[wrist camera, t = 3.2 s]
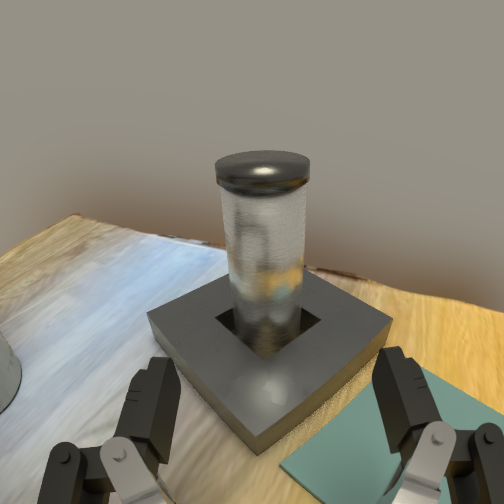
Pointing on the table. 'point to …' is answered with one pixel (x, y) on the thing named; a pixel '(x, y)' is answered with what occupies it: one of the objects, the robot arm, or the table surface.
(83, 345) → the table surface
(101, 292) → the table surface
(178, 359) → the collar block
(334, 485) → the rubber mat
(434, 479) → the robot arm
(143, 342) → the table surface
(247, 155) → the tumbler with black lid
